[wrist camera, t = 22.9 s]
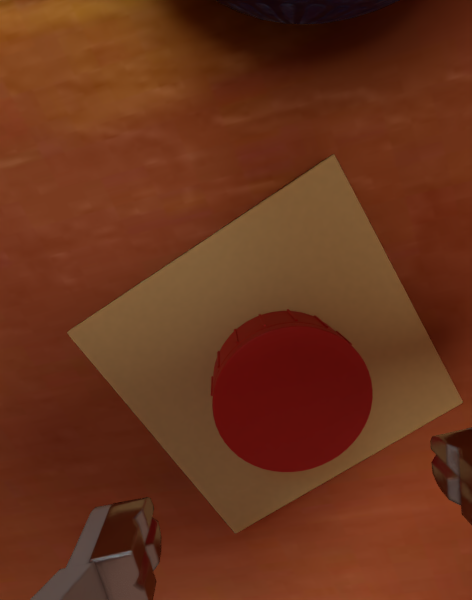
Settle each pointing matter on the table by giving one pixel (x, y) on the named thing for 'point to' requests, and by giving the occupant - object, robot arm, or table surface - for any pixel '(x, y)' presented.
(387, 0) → the planter
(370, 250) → the cork mat
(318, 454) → the red lid
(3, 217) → the table surface
